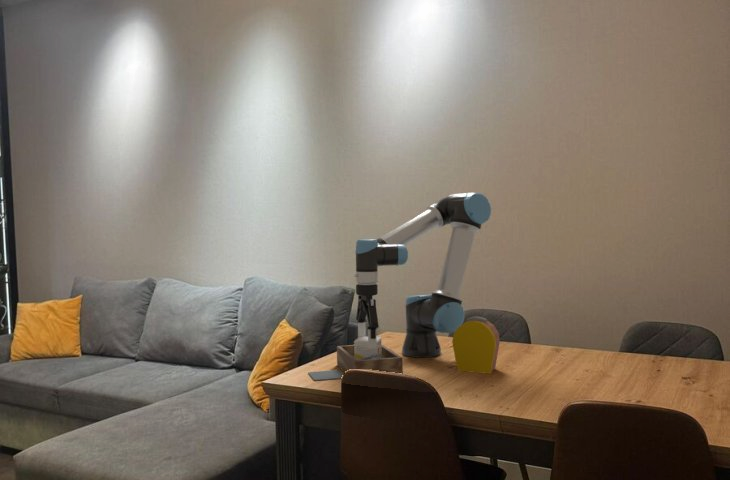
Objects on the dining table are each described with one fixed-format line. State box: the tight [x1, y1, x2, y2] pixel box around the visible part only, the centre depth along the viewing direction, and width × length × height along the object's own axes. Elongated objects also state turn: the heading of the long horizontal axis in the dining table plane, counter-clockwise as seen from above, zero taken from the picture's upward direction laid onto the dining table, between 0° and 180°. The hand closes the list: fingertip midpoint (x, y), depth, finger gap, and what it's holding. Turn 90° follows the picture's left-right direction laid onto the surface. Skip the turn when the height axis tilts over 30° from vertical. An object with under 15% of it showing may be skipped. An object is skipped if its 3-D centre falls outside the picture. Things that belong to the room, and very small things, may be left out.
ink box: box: [353, 336, 382, 361], centre depth 225 cm, size 9×8×12 cm
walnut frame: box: [336, 343, 404, 375], centre depth 225 cm, size 16×26×7 cm, turn 15°
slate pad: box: [307, 369, 344, 382], centre depth 220 cm, size 11×11×1 cm
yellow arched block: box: [451, 315, 501, 374], centre depth 225 cm, size 15×8×18 cm, turn 65°
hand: (367, 344), depth 224 cm, fingers open, 13 cm apart
